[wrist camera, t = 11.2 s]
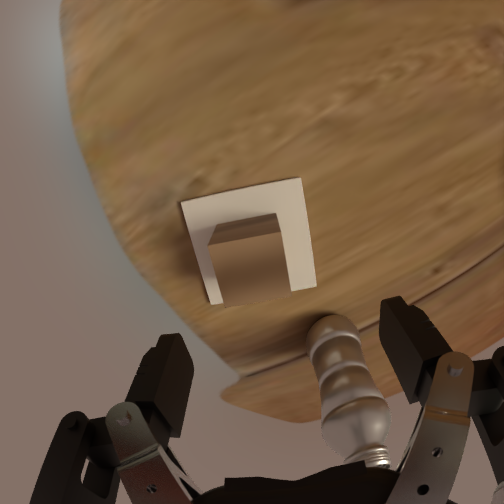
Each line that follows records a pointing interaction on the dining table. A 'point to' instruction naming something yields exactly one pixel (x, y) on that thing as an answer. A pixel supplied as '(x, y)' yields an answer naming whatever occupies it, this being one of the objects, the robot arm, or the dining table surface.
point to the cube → (250, 260)
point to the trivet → (247, 206)
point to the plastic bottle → (348, 393)
